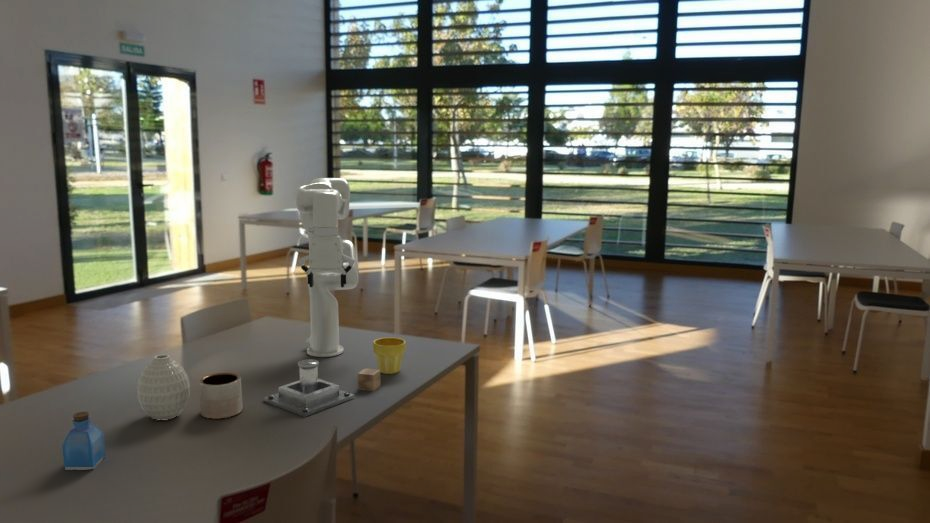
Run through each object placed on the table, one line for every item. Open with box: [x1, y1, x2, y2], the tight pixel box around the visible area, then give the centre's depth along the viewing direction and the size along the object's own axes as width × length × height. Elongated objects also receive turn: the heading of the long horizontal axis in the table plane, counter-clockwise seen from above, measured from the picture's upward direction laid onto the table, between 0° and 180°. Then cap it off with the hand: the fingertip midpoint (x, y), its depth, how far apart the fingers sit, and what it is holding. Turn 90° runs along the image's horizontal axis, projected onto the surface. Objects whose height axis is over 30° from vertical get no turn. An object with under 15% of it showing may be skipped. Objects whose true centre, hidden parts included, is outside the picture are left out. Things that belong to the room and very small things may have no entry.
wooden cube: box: [357, 367, 381, 392], centre depth 208 cm, size 5×5×5 cm
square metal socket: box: [262, 378, 355, 418], centre depth 198 cm, size 18×18×4 cm
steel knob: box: [297, 358, 320, 394], centre depth 197 cm, size 6×6×10 cm
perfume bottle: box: [61, 411, 106, 468], centre depth 157 cm, size 6×6×12 cm
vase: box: [136, 353, 191, 420], centre depth 184 cm, size 13×13×17 cm
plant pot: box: [372, 336, 407, 375], centre depth 223 cm, size 10×10×10 cm
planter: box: [198, 372, 244, 420], centre depth 188 cm, size 11×11×10 cm
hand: (327, 286), depth 216 cm, fingers open, 9 cm apart
